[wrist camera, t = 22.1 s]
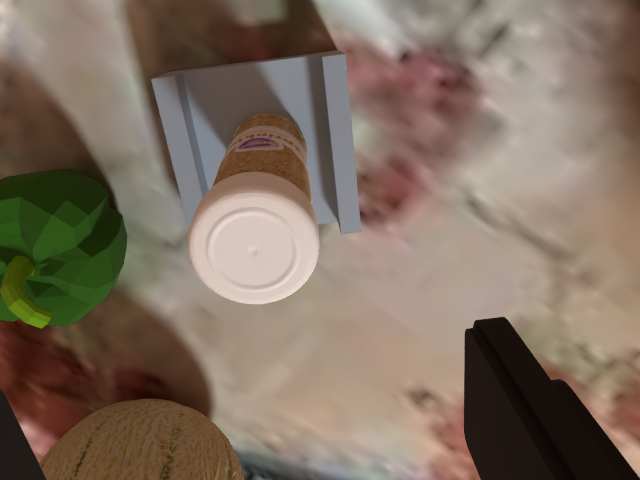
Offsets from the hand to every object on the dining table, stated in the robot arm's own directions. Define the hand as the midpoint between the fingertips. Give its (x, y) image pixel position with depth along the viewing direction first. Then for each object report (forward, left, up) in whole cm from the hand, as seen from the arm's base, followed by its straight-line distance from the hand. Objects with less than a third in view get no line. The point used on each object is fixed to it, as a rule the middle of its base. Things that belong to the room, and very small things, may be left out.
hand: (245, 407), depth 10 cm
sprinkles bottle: (0, 0, -21) cm, 21 cm away
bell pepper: (+13, +3, -23) cm, 27 cm away
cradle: (0, 0, -23) cm, 23 cm away
